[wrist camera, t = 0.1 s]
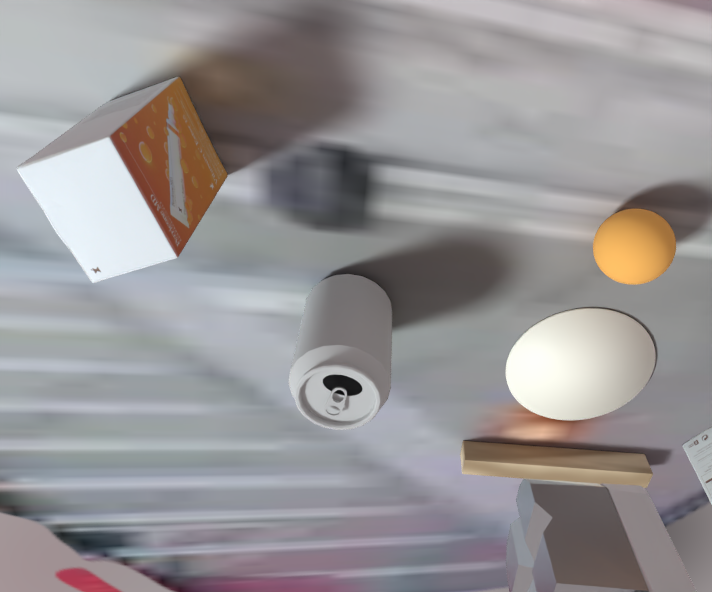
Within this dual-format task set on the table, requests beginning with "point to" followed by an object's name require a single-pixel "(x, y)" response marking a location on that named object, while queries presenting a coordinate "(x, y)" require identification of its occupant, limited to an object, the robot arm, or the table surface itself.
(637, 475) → the rail
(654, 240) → the ball
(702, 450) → the supplement box
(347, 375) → the can
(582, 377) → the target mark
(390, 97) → the table surface
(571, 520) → the robot arm
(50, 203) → the small box
